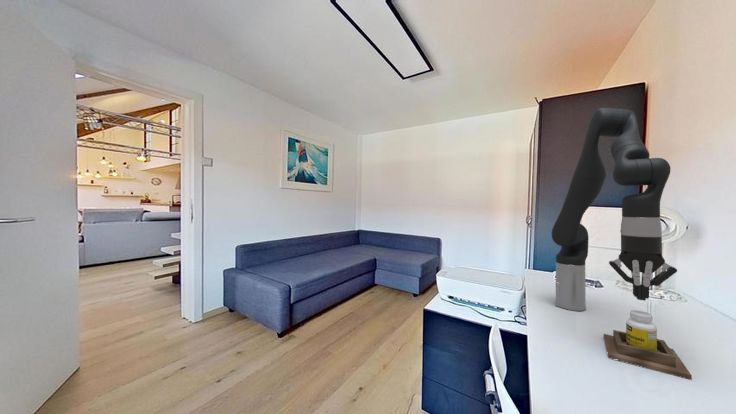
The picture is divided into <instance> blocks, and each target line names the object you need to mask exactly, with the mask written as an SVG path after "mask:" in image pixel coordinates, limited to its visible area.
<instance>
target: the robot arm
mask: <svg viewBox="0 0 736 414" xmlns="http://www.w3.org/2000/svg"><path fill="white" fill-rule="evenodd" d="M600 137H609V138H615V139H614V140H613V141H612V144H611V147H610V153H611V156H612V157H613V160H614V163H615V164H614V167H613V168H614V169H613V170H612V171H613V172H612V178H613V181H614V182H615V183H616V184H617V185H620V186H623V187H635V186H638V187H639V186H646V188H645V190H644V191H642V192H640V193H635V194H630V195H629V194H628V195H625V196H623V197H622V200H621V221H620V230H619V231H620V253H619V254H618V258H616V259H614V260H609V261H608V265H610V267H611V268H612V269H613V270H614V271H615V272H616V273H617V274H618V275H619V276H620V278H622V279H623V280H624V281H625V282H627V283H629V284H632V295H633V296H634V298H636V300H639V301H643V302H644V301H646V300H647V299H649V298H650V288H651V287H652V286H660V285H661V284H663V283H664V282H666V281H667V280H668V279H669V278H671V277H672V276H673V275H674V274H676V273H677V272H678V269H677V268H676V267H674V266H672V265H669V264H668V263H666V260H665V258H664V257H663V246H662V245H663V244H662V243H663V236H662V235H663V234H662V232H663V231H662V230H663V227H662V226H663V225H662V222H661V200H662V197H663V192H664V190H665V187H666V184H667V182H668V180H669V177H670V175H671V171H672V170H671V165H670V163H669V162H668V161H667V160H666V159H665V158H663V157H650V151H649V150H648V149H647V147H646V145H645V144H644V143H643V140H642V139H641V137H640V130H639V124H638V119H637V115H636V113H635V112H634V111H633V110H631V109H627V108H626V109H625V108H614V107H613V108H611V107H599V108H597V109H596V110H595V111H594V112H593V114H592V115H591V118H590V119H589V123H588V126H587V130H586V134H585V138H584V142H583V146H582V150H581V152H580V156H579V158H578V161H577V165H576V167H575V170H574V172H573V175H572V178H571V180H570V184H569V187H568V191H567V194H566V196H565V199H564V202H563V205H562V208H561V210H560V212H559V215H558V217H557V219H556V221H555V223H554V224H553V226H552V230H551V239H552V241H553V242H554V243H555V244H556V245H557V246H559V247H561V248H560V251H559V252H558V253H557V254H555V307H559V308H562V309H565V310H569V311H574V312H582V311H583V312H584V311H585V310H586V308H587V307H586V305H587V301H586V300H587V299H586V296H587V295H586V294H587V293H586V261H587V258H588V254H589V233H588V230H587V228H586V226H584V225H583V224H582V223H581V221H582V218H583V216H584V214H585V212H586V211H587V210H588V209H589V208H590V207H591V205H592V204H593V203H594V201H595V200H596V199H597V197H598V196H599V195H600V193H601V191H602V188H603V186H604V183H605V180H606V178H607V172H606V169H605V166H604V163H603V161H602V158H601V156H600V151H599V142H600V141H599V140H600ZM621 263H622V264H623V265H624V266H625V267H626V268H627V269H628V270H629V271H630V273H631V276H629V275H628V274H627V273H626V272H624V271H623V269H622V264H621ZM658 269H660V270H661V271H660V272H659V273H658V274H657V275H655V276H654V277H653V278H652V274H653V273H655V272H656V271H658ZM651 278H652V279H651Z"/></svg>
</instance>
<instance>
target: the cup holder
mask: <svg viewBox="0 0 736 414" xmlns="http://www.w3.org/2000/svg"><path fill="white" fill-rule="evenodd" d="M612 332H613V333H612V335H611V334H606V333H603V340H604V344H605V345H604V346H605V349H606V352H608V354H607V357H609V358H612V359H611V360H613V359H618V360H621V361H624V362H623V363H625V362H628V363H627V364H629V363H632V364H636V365H639V366H638V367H640V366H642V367H641V368H644V367H645V369H648V370H653V371H656V372H659V371H660V372H661V373H663V372H664V373H663V374H667V373H669V374H668V375H671V374H674V375H673V376H675V375H677V376H676V377H679V376H681V377H680V378H683V377H685V378H684V379H687V380H690V379H691V380H692V379H693V378H692V374H691V372H690V371H689V369H688V368H687V367H686V366H685V364H684V362H683V361H682V360H681V359H680V357H679V356H678V354H677V353H676V351H675V349H674V348H671V347H669V345H668V344H667V342H666V341H665V340H664V339H660V338H657V351H652V350H648V349H643V348H639V347H635V346H630V345H626V332H625V331H620V330H616V329H613V330H612ZM609 358H608V359H609ZM621 361H620V362H621ZM632 364H631V365H632ZM636 365H635V366H636ZM691 380H690V381H691Z"/></svg>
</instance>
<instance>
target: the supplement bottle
mask: <svg viewBox="0 0 736 414" xmlns="http://www.w3.org/2000/svg"><path fill="white" fill-rule="evenodd" d="M629 317H630V318H627V319H626V321H625V325H626V326H625V327H626V328H625V329H626V330H625V331H626V345H630V346H635V347H639V348H643V349H648V350H652V351H657V339H658V334H657V333H658V328H657V326H656V324H654V323H653V314H651V313H649V312H647V311H642V310H635V309H633V310H632V309H631V310H630V311H629Z"/></svg>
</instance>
